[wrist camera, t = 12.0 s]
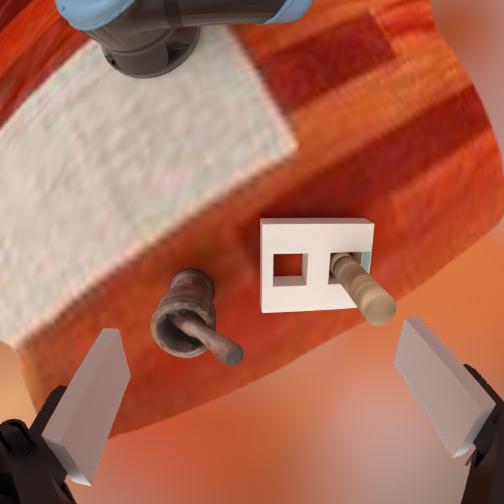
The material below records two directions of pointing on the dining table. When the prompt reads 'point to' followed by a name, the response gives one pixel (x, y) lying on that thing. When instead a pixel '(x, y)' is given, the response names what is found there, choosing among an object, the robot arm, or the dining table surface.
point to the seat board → (310, 261)
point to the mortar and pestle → (191, 320)
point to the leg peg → (362, 289)
